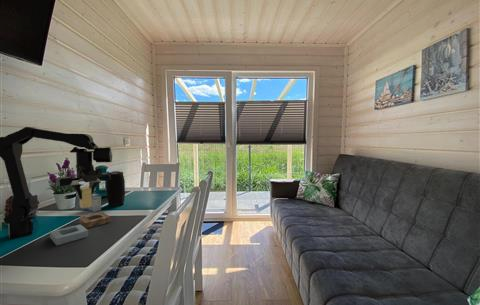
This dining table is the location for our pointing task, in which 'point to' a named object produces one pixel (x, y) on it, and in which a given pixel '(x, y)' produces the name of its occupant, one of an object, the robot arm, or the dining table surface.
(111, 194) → the portable speaker
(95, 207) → the medicine box
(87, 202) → the brass pin
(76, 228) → the socket block
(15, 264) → the dining table surface
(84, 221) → the walnut mount
